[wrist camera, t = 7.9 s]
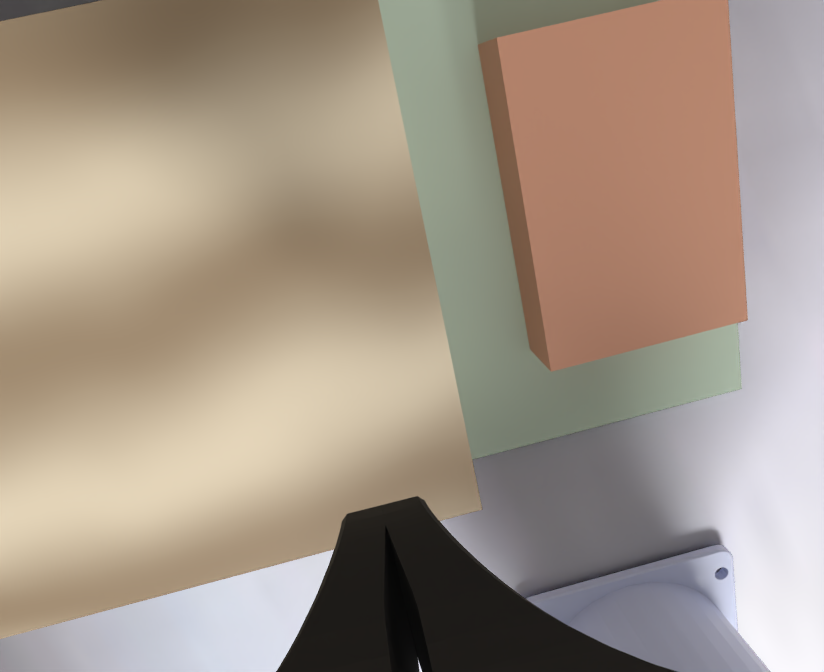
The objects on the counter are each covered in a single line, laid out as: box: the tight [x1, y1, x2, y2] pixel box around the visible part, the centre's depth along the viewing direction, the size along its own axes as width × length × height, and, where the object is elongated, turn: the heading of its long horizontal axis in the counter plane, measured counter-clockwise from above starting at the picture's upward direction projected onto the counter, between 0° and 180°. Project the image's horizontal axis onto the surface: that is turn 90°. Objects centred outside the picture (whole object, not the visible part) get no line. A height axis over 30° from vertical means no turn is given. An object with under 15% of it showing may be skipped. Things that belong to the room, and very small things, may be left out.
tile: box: [478, 0, 748, 372], centre depth 20 cm, size 9×6×2 cm, turn 12°
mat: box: [378, 0, 742, 460], centre depth 21 cm, size 15×10×1 cm, turn 12°
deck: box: [0, 0, 482, 639], centre depth 18 cm, size 14×16×4 cm
